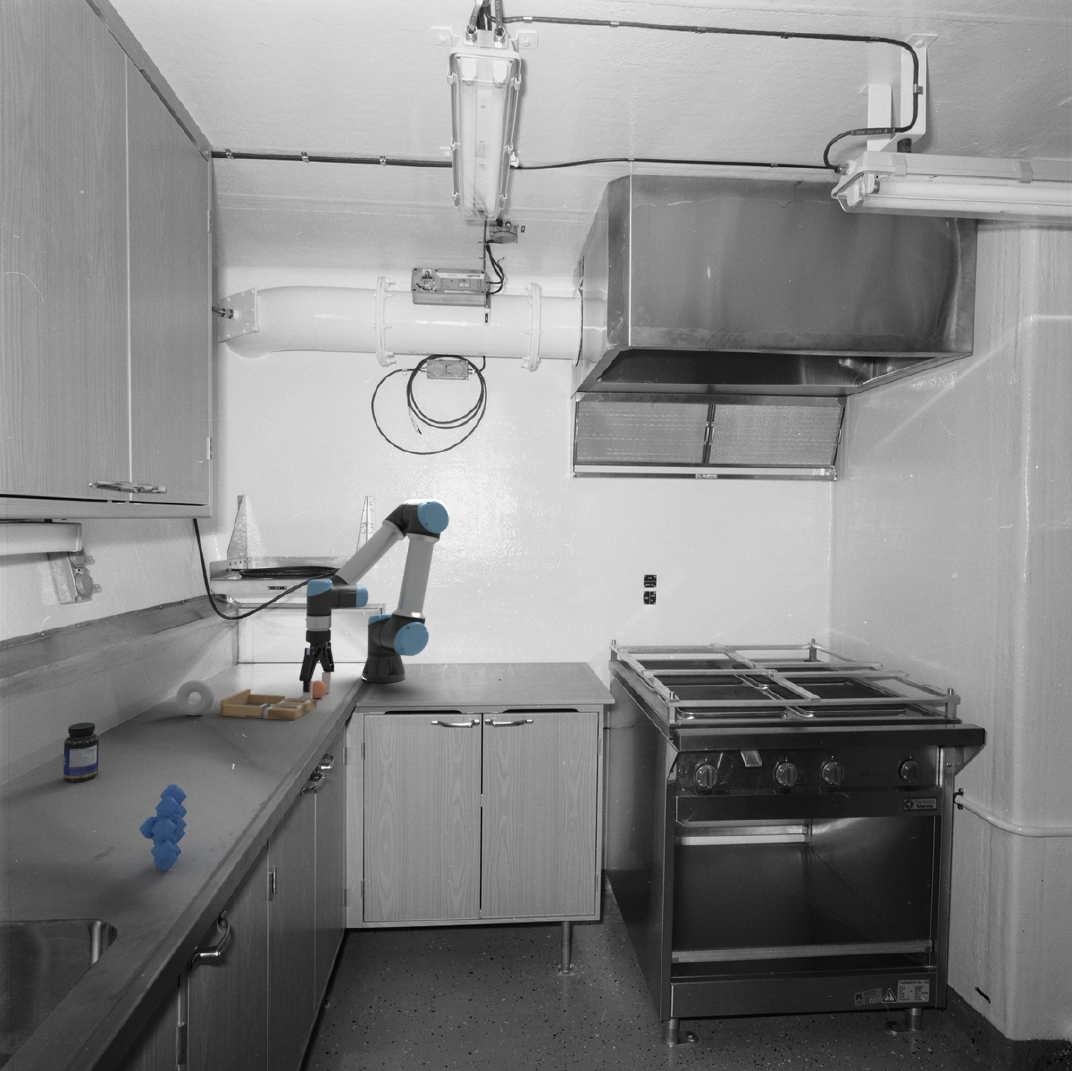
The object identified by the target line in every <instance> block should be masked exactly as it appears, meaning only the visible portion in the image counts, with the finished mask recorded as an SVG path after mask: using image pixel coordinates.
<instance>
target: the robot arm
mask: <svg viewBox="0 0 1072 1071" xmlns="http://www.w3.org/2000/svg"><path fill="white" fill-rule="evenodd" d="M449 523H450V514H449V510H448V508H447V507H446V505H445V504H444V503H443V502H441V501H440V500H438V499H433V498H425V499H424V498H423V499H409V500H406V501H404V502H402V503H401V504H399V505H398V506H397V507H396V508H394V510H393V511H391V512H390V513H389V515H387V517H385V518H384V519H383V520H382V522H381V525H382V526H380V528H379V529H378V530H377V531H376V532H375V533H373V535H371V537H370V538H369V539H368V540H367V541H366V542H365V543H364V544H363V545H362V546H361V547H360V548H359V549H358V550H357V551H356V552H355V553H354V554H353V555H352V556H351V557H350V558H349V559H348V560H347V561H346V562H345V563H344V564H343V565H342V566H341V567H340V568H339V569H338V570H337V572H335V573H334V575H333V576H331V577H330V578H329V579H319V578H318V579H310V580H309V581H308V582H307V587H306V612H305V613H306V615H305V616H306V618H304V619H305V623H306V624H305V628H306V630H305V642H306V643H309V644H310V646H309V647H305V648H304V652H303V653H304V654H303V660H302V664H301V669H300V673H299V679H298V680H299V682H302V699H313V697H312V690H313V682H314V681H313V680H312V679H313V676H314V674H315V673H314V672H315V669H316V667H317V664H318V663H320V665H321V668H322V671H323V672H321V681H322V682H323V683H324V684H325V685H326V693H325V694H330V693H331V692H332V690H331V688H332V686H331V685H332V673H334V672H335V662H334V657H333V651H332V642H331V640H332V630H331V628H332V612H333V610H338V609H341V610H343V609H360V608H365V607H366V606H367V604H368V602H369V592H368V589H367V587H366V586H365V584H358V582H360V581H361V579H363V578H364V576H365V575H366V574H367V573H368V572H370V570H371V569H372V568H373V567H374V566H376V564H377V563H378V562H379V561H380V559H382V558H383V557H384V556H385V554H387V552H389V551H390V550H391V549H392V547H393V546H394V545H395V544H396V543H397V542H398V541H403V540H404V539H406V537H407V538H408V540H409V542H408V548H407V552H406V559H405V565H404V570H403V576H402V582H401V585H400V592H399V598H398V603H397V608H396V609H394V610H393V611H392V612H391V613H385V614H382V613H381V614H372V615H370V616H369V617H368V623H367V658H366V661H365V664H364V667H363V669H362V672H361V677H362V676H363V677H364V678H366V679H367V681H366V682H369V683H375V684H376V683H377V684H378V683H380V684H381V683H384V684H385V683H394V682H400V681H403V680H405V679H406V669H405V666H404V662H403V660H402V656H405V657H414V656H416V655H418V654H421V653H422V652H423V651H424V650H425V648H426V647H427V645H428V643H429V638H430V637H429V636H430V635H429V630H428V629H427V627H426V625H425V624H426V617H425V615H424V613H423V610H424V605H425V598H426V592H427V588H428V581H429V576H430V571H431V564H432V560H433V555H434V554H433V553H434V547H435V544H436V543H439V541H440V539H441V533H443V532H444V531H445V530H446V529H447V528H448V526H449Z"/></svg>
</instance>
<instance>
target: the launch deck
mask: <svg viewBox="0 0 1072 1071" xmlns="http://www.w3.org/2000/svg"><path fill="white" fill-rule="evenodd" d="M316 707H318V699H316V698H312V699H303V698H293V697H292V698H291V697H288V698H285V699H282V701H281V702H279V703H277V704H270V707H269V708H266V709H264V718H263V719H264V720H265V719H267V720H282V721H283V720H285V721H296V720H297V719H299V718H301V717H303V716H304V715H303V714H305V713H306V714H308V713H310V712H312V711H314V710H315V709H317V708H316ZM313 709H314V710H313ZM311 710H312V711H311ZM307 712H308V713H307ZM306 714H305V715H306ZM302 715H303V716H302ZM300 716H301V717H300ZM295 719H296V720H295Z"/></svg>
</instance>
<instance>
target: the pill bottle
mask: <svg viewBox="0 0 1072 1071" xmlns="http://www.w3.org/2000/svg"><path fill="white" fill-rule="evenodd" d="M67 730H68V734H69V736H68V737H66V739H65V740H64V741H63V780H64V781H65V782H68V783H79V782H86V781H89V780H92V779H94V778H95V777H97V775H98V774H99V749H100V748H99V747H100V746H99V745H100V741H99V740H100V739H99V738H100V737H99V736H98V735H97V734H95V731H96V724H95V723H94V722H87V721H86V722H78V723H73V724H71V725H68V729H67Z"/></svg>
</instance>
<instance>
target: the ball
mask: <svg viewBox="0 0 1072 1071" xmlns="http://www.w3.org/2000/svg"><path fill="white" fill-rule="evenodd" d="M326 694H327V693H326V685H325V684H324V683H323V682H322V680H315V681H313V690H312V699H320V698H323V696H325V695H326Z"/></svg>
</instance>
